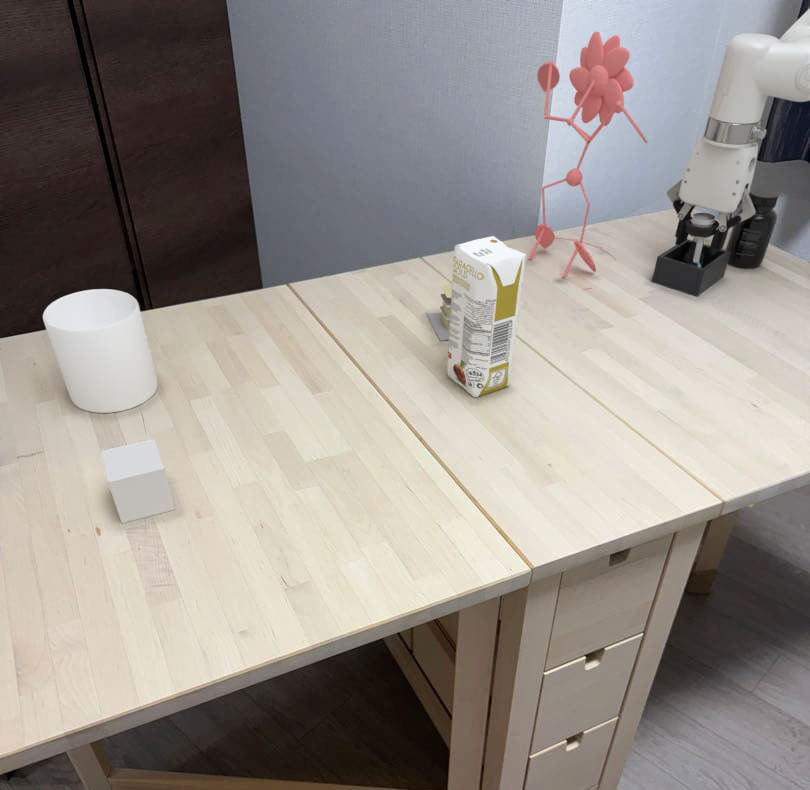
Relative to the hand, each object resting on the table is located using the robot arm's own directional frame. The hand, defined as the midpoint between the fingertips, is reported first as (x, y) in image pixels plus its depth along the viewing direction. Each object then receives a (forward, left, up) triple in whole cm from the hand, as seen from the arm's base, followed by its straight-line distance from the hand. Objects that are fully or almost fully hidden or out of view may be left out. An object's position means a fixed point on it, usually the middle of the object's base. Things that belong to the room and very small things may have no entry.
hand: (697, 246), depth 127 cm
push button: (0, 0, -5) cm, 5 cm away
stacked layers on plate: (+19, +40, -6) cm, 45 cm away
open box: (0, 0, -6) cm, 6 cm away
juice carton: (+7, +52, -6) cm, 53 cm away
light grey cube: (+20, +99, -6) cm, 101 cm away
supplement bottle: (-4, -14, -6) cm, 16 cm away
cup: (+43, +88, -6) cm, 98 cm away
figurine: (+19, +7, -6) cm, 21 cm away
